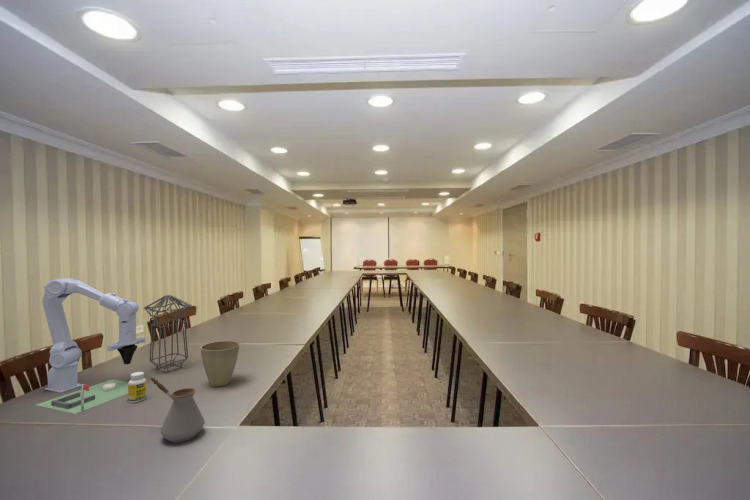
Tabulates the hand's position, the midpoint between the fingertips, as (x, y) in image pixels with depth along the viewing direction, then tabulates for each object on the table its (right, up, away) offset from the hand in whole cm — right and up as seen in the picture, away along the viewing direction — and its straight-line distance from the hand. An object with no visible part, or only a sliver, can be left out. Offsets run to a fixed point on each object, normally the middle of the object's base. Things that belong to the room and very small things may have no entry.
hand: (127, 363), depth 142 cm
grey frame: (-2, -8, -20) cm, 21 cm away
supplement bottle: (+15, -9, -16) cm, 23 cm away
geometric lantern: (+6, -9, +18) cm, 21 cm away
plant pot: (+38, -9, +1) cm, 39 cm away
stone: (-2, -8, -7) cm, 11 cm away
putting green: (-4, -8, -11) cm, 15 cm away
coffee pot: (+41, -8, -38) cm, 57 cm away
